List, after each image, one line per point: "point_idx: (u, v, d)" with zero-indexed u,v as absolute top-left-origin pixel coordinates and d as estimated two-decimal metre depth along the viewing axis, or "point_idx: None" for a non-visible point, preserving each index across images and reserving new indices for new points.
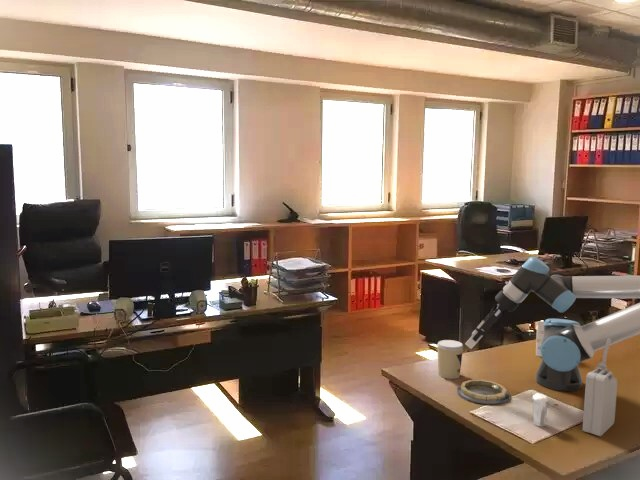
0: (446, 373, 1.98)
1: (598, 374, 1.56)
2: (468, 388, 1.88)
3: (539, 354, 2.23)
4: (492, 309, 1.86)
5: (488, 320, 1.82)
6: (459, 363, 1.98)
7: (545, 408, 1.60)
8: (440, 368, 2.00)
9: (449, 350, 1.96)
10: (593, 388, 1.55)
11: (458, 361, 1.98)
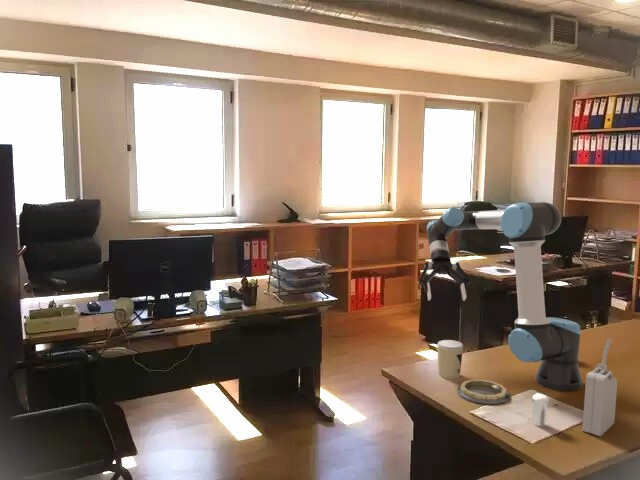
0: (446, 373, 1.98)
1: (598, 374, 1.56)
2: (468, 388, 1.88)
3: None
4: None
5: None
6: (459, 363, 1.98)
7: (545, 408, 1.60)
8: (440, 368, 2.00)
9: (449, 350, 1.96)
10: (593, 388, 1.55)
11: (458, 361, 1.98)
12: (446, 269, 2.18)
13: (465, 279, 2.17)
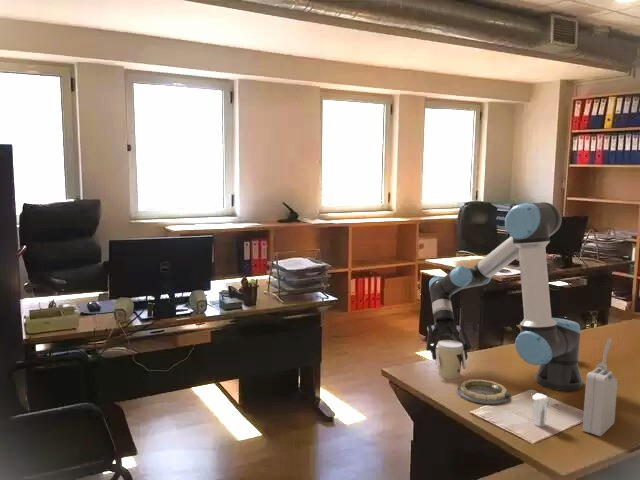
0: (446, 373, 1.98)
1: (598, 374, 1.56)
2: (468, 388, 1.88)
3: None
4: None
5: (427, 338, 2.06)
6: (459, 363, 1.98)
7: (545, 408, 1.60)
8: (440, 368, 2.00)
9: (449, 350, 1.96)
10: (594, 388, 1.55)
11: (458, 361, 1.98)
12: (450, 331, 2.06)
13: (466, 344, 2.05)
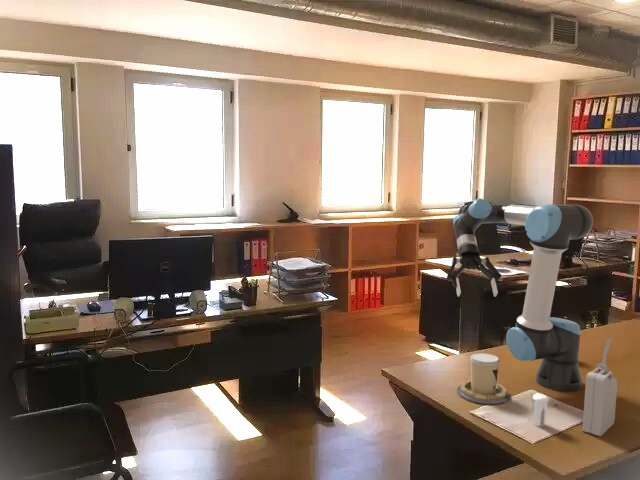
0: (480, 390, 1.81)
1: (598, 374, 1.56)
2: (468, 388, 1.88)
3: None
4: None
5: None
6: (495, 380, 1.81)
7: (545, 408, 1.60)
8: (474, 384, 1.83)
9: (484, 365, 1.79)
10: (593, 388, 1.55)
11: (494, 377, 1.80)
12: (475, 264, 2.08)
13: (495, 274, 2.08)
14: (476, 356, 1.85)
